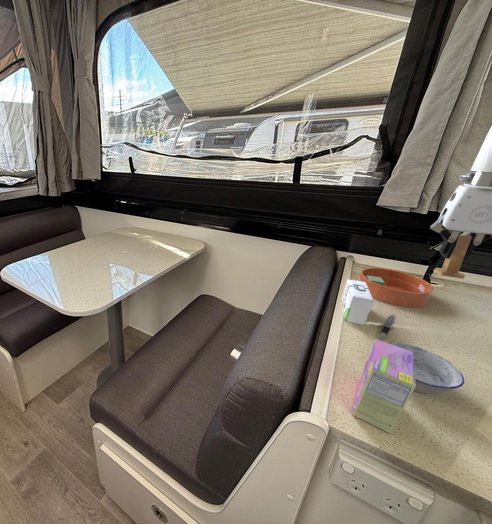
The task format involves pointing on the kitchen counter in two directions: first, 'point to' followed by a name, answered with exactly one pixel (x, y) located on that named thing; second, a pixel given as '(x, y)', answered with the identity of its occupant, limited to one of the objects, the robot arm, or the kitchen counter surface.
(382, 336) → the knife
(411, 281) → the bowl
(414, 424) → the kitchen counter surface
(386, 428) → the box
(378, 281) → the block
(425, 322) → the kitchen counter surface
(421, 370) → the bowl
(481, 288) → the kitchen counter surface
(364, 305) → the ink box
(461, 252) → the brown wooden post
